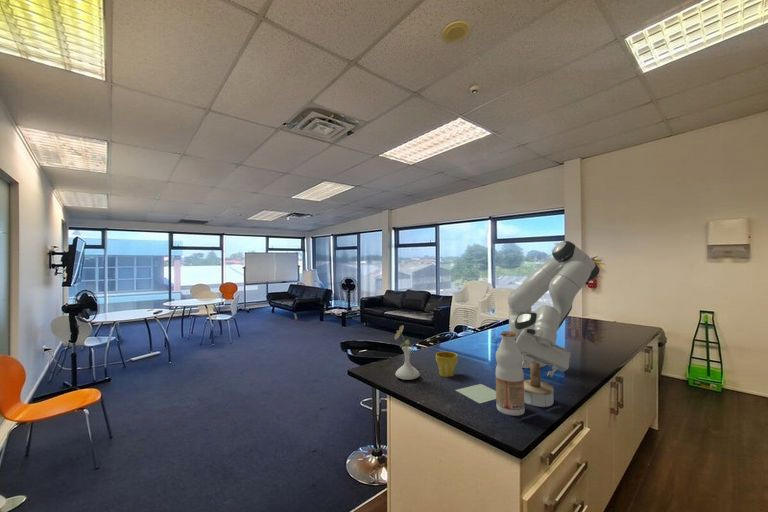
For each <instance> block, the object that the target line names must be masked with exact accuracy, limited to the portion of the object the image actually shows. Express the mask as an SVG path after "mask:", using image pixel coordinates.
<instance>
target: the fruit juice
mask: <svg viewBox="0 0 768 512" xmlns="http://www.w3.org/2000/svg"><path fill="white" fill-rule="evenodd" d="M500 336H501V341H500V343H499V346H498V348H497V349H496V351H495V360H496V367H495V391H496V399H495V401H496V409H497V411H499V412H500V413H502V414H505V415H508V416H513V417H514V416H522V415H524V413H525V411H526V409H525V407H526V406H525V405H526V403H525V402H524V380H525V378H524V377H525V374H524V368H522V361H523V357H522V354H521V352H520V351H519V349H518V346H517V344H516V341H515V336H516V334H515V332H512V331H509V330H502V331H500Z"/></svg>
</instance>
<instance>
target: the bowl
mask: <svg viewBox="0 0 768 512" xmlns="http://www.w3.org/2000/svg"><path fill="white" fill-rule="evenodd" d="M554 400H555V399H554V392H553V393H552V394H549V395H536V394H531V393H528V392H525V391H524V402H525V404H527V405H530V406H534V407H540V408H547V407H551V406H553V404H554Z"/></svg>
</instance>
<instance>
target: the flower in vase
mask: <svg viewBox="0 0 768 512" xmlns="http://www.w3.org/2000/svg"><path fill="white" fill-rule="evenodd" d="M404 327H405V326H404V325H403V324H402V325H400V326H399V330H396V333H395V335H393V337H394V338H393V339H394V340H395V341H396V340H398V339H399V337H402V339H403V342H402V343H401V344H400V345H399V348H401V350H402V351H403V353H404V355H403V356H404V363H403V365H402V366H400V367H399V368H398V369H397V370H396V372H395V374H394V375H395V376H396V377H397V378H399V379H401V380H406V381H407V380H410V381H411V380H414V379H417V378H419V377H420V376H421V375H420V372H419V371H418V369H417V368H416V367H414V366H413V365H412V363H411V362H410V361H411V359H410V355H411V351H412V350H413V347H411V346H409V345H411V343H410V342H411V341H410V340H409V338H408V339H406V340H405V337H404V336H403V331H404ZM404 345H405V346H404Z"/></svg>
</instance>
